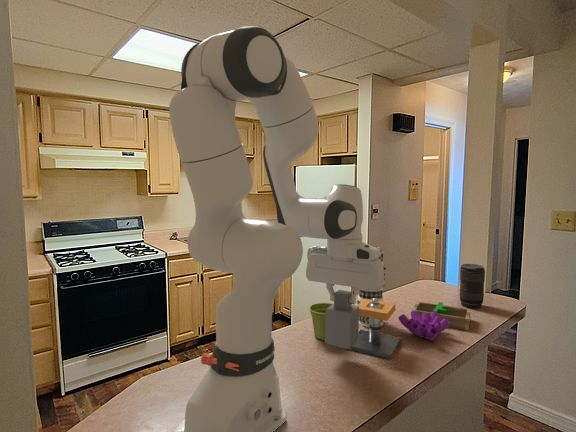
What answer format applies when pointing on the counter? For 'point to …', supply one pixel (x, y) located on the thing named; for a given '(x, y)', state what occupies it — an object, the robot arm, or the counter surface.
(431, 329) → the purple tube coral
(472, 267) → the camera lens
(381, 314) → the collar
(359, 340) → the pipe stand
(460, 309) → the open wooden box
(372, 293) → the decorative candle
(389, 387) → the counter surface
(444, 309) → the green branched piece
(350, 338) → the grey stepped block
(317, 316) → the plant pot
